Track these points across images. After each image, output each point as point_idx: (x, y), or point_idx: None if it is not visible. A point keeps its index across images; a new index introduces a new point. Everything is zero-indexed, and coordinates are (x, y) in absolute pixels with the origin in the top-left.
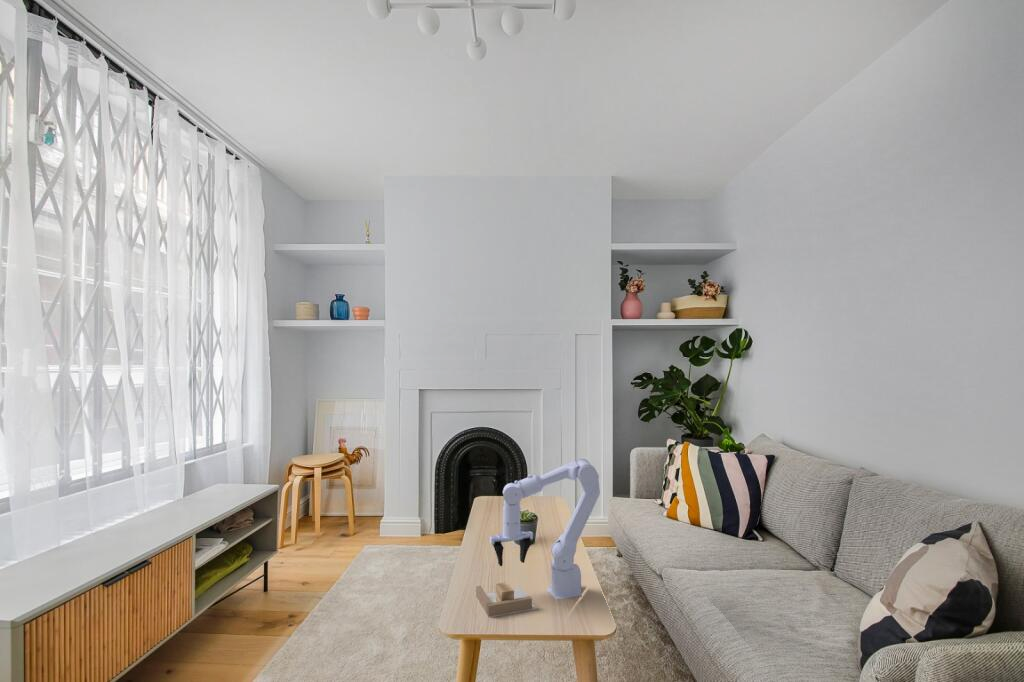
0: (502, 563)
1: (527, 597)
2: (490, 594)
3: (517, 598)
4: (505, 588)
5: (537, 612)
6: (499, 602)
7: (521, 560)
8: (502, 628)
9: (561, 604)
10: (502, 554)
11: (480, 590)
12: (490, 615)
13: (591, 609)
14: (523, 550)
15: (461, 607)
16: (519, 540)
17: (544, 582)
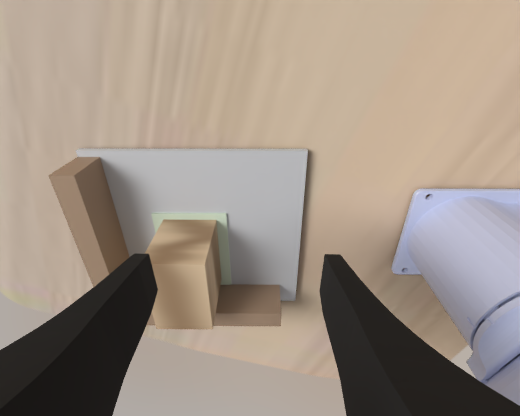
0: (152, 308)
1: (267, 318)
2: (148, 163)
3: (227, 313)
4: (179, 308)
5: (291, 302)
6: (153, 318)
7: (323, 283)
8: (163, 334)
9: (391, 288)
10: (117, 396)
11: (74, 221)
12: None
13: (452, 330)
14: (347, 396)
15: (24, 205)
16: (400, 402)
17: (463, 111)
